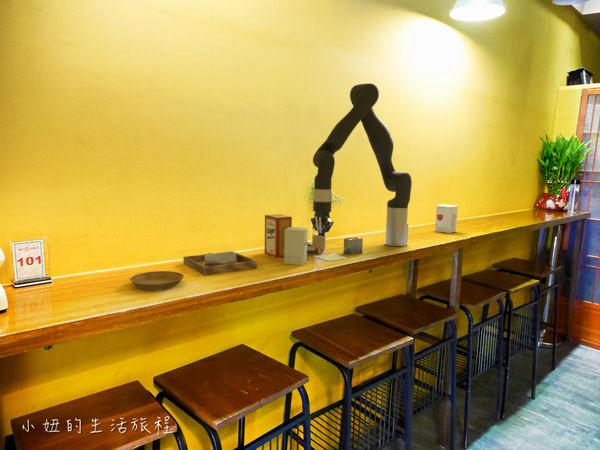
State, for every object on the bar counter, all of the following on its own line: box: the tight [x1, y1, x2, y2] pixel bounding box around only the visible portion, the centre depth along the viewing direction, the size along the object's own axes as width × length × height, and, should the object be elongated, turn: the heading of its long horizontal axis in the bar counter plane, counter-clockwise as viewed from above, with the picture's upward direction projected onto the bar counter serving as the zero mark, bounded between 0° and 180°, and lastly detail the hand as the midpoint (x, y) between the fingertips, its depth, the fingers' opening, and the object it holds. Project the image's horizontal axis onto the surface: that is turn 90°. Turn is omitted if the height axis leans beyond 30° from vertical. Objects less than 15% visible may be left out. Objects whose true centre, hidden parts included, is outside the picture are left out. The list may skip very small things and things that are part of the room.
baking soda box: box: [264, 213, 293, 259], centre depth 165 cm, size 10×6×16 cm
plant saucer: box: [129, 270, 184, 291], centre depth 122 cm, size 15×15×3 cm
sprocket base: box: [307, 250, 325, 255], centre depth 174 cm, size 13×13×1 cm
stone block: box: [203, 250, 238, 267], centre depth 149 cm, size 12×5×10 cm
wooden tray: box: [182, 251, 258, 276], centre depth 146 cm, size 19×19×2 cm
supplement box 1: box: [283, 226, 309, 266], centre depth 153 cm, size 7×7×13 cm
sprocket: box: [307, 234, 327, 253], centre depth 174 cm, size 14×14×6 cm
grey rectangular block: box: [342, 236, 364, 256], centre depth 172 cm, size 9×4×6 cm, turn 125°
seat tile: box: [312, 252, 349, 262], centre depth 163 cm, size 10×10×1 cm
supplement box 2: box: [434, 203, 459, 234], centre depth 234 cm, size 9×9×15 cm
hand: (321, 241), depth 174 cm, fingers closed
